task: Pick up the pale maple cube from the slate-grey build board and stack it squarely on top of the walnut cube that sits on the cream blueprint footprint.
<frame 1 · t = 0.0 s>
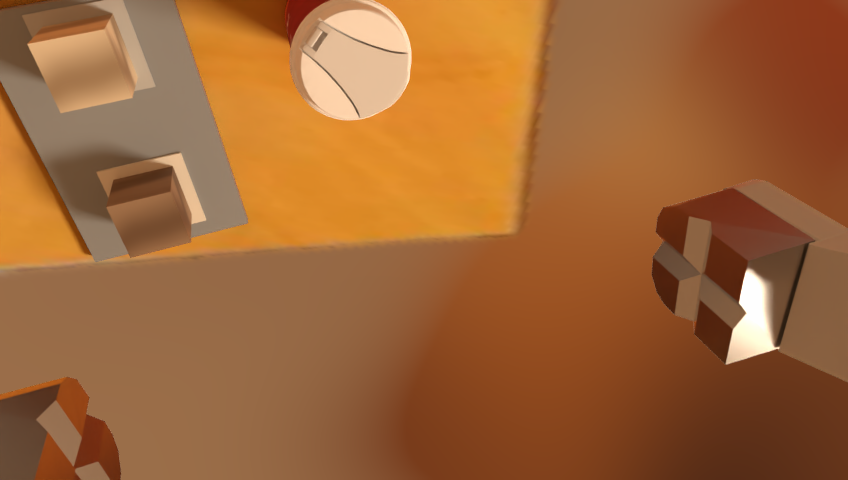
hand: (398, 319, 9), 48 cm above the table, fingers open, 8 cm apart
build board: (128, 130, 52), on the table
walnut block: (153, 197, 55), point 1 cm above the table, touching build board
maple block: (92, 53, 48), point 1 cm above the table, touching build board
coffee cup: (320, 16, 52), on the table
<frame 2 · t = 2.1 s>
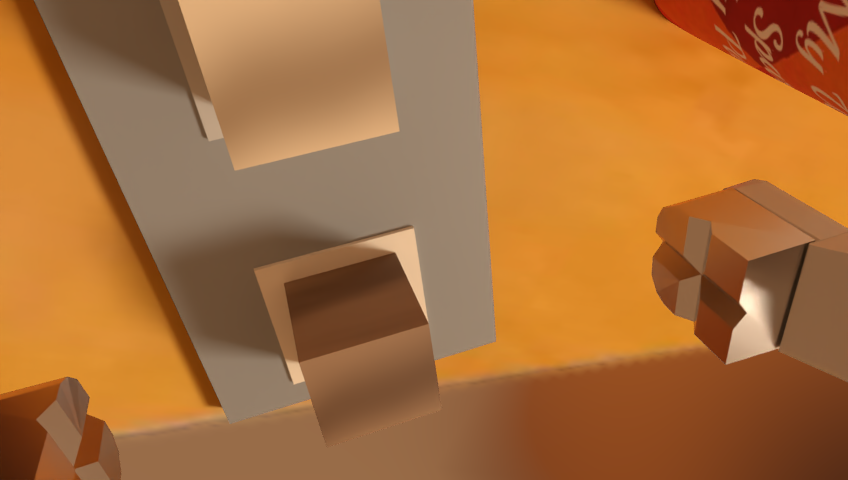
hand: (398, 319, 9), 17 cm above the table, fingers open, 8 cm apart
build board: (319, 185, 26), on the table
walnut block: (350, 310, 28), point 1 cm above the table, touching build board
maple block: (280, 24, 21), point 1 cm above the table, touching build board
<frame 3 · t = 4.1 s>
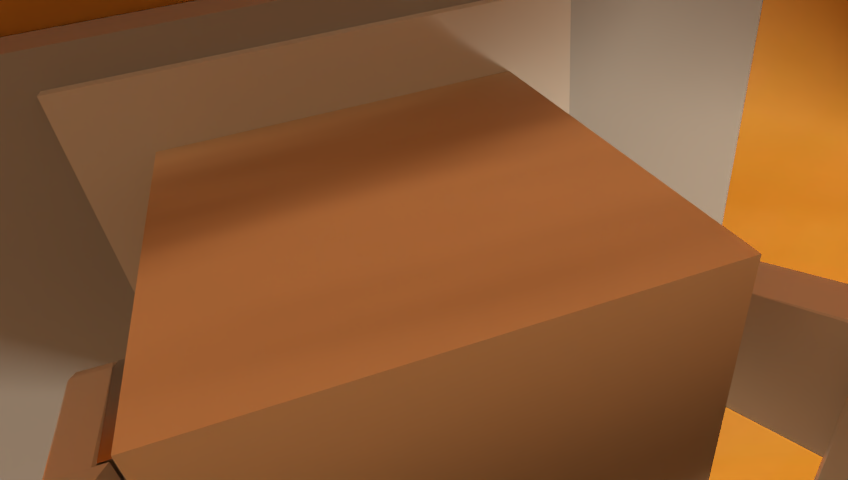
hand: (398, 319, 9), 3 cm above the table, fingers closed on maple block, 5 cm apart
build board: (408, 462, 15), on the table
maple block: (371, 254, 10), point 1 cm above the table, touching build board, gripper
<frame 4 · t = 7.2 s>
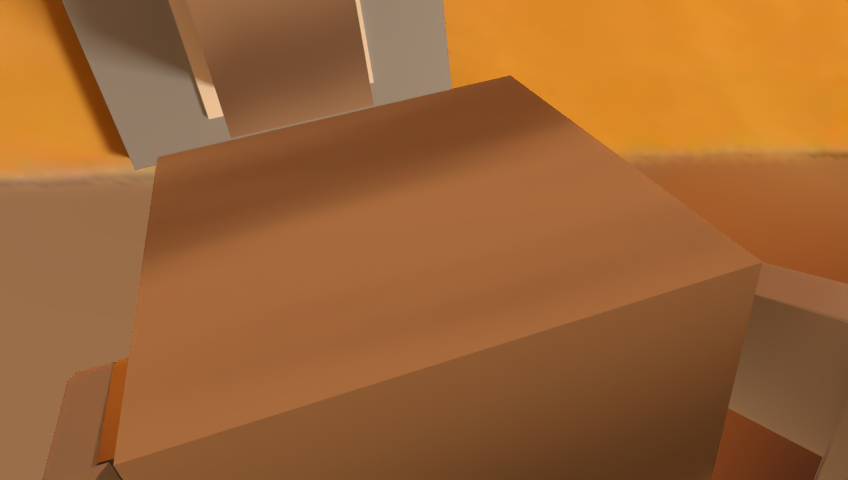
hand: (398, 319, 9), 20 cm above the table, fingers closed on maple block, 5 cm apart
walnut block: (271, 15, 24), point 1 cm above the table, touching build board
maple block: (373, 258, 10), point 19 cm above the table, touching gripper
when the fingers open (9 cm above the table, at t = 10.0 s): maple block stays where it is, resting on walnut block.
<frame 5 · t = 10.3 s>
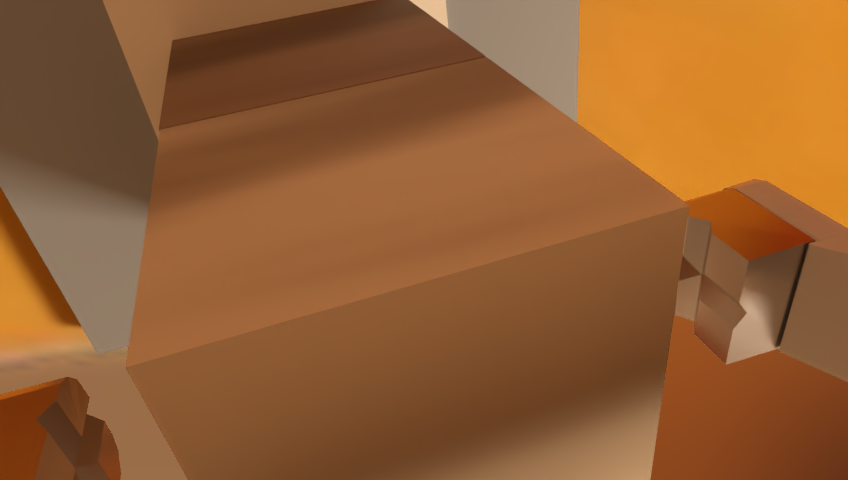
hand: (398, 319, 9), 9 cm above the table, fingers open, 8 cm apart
walnut block: (316, 124, 15), point 1 cm above the table, touching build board, maple block
maple block: (360, 229, 11), point 6 cm above the table, touching walnut block
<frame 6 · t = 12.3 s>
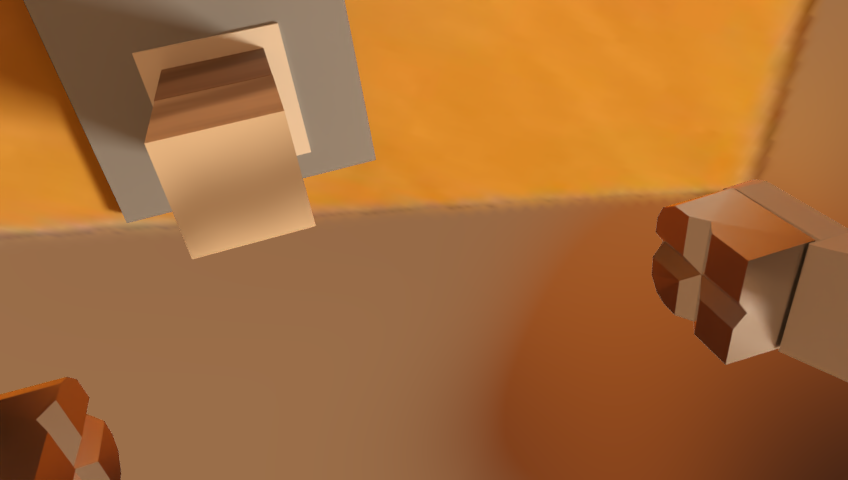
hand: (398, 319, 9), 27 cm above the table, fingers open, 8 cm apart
walnut block: (228, 106, 32), point 1 cm above the table, touching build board, maple block
maple block: (232, 141, 28), point 6 cm above the table, touching walnut block
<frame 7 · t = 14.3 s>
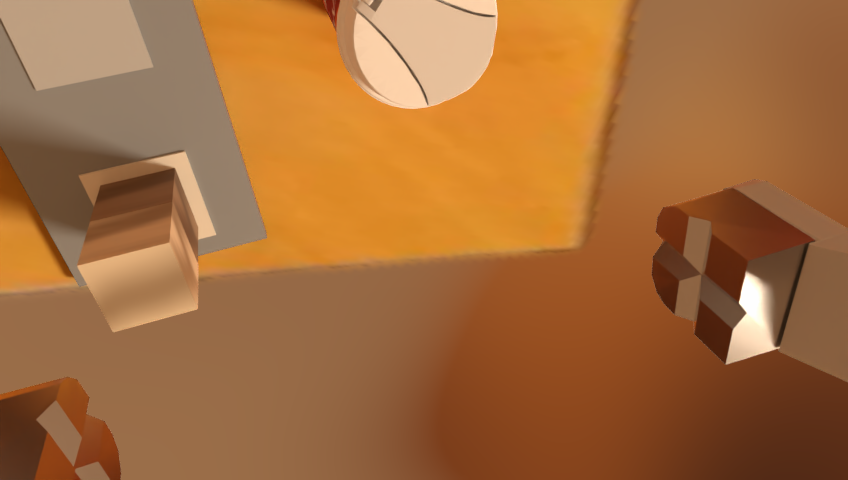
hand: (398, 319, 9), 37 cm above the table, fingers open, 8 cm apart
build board: (119, 123, 42), on the table
walnut block: (151, 207, 44), point 1 cm above the table, touching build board, maple block
maple block: (146, 243, 40), point 6 cm above the table, touching walnut block
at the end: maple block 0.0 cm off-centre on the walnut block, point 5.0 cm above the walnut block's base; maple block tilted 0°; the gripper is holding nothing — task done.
